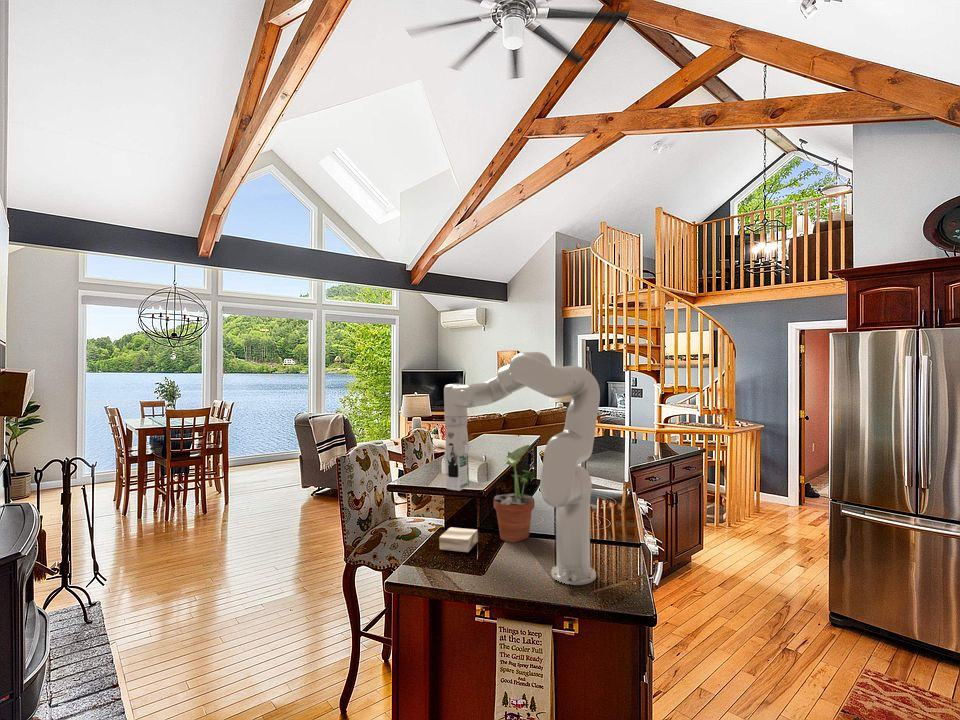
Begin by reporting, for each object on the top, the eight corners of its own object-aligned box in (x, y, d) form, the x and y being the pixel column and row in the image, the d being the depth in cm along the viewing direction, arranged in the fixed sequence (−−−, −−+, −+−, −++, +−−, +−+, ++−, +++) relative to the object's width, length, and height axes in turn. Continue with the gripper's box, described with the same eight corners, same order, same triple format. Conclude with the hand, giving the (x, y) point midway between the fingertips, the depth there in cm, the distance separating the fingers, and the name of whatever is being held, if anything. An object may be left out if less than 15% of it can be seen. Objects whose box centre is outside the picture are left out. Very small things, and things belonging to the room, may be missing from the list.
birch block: (468, 552, 168) (467, 540, 168) (439, 549, 172) (439, 537, 171) (477, 541, 178) (477, 529, 178) (450, 538, 181) (450, 527, 181)
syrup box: (459, 491, 170) (458, 446, 170) (445, 488, 174) (444, 445, 173) (469, 486, 175) (468, 443, 175) (455, 484, 178) (453, 442, 178)
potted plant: (545, 534, 182) (543, 435, 182) (518, 547, 171) (516, 441, 171) (511, 525, 193) (509, 431, 192) (483, 536, 182) (481, 437, 181)
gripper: (457, 425, 165) (458, 481, 165) (474, 417, 181) (476, 469, 181) (435, 424, 167) (436, 480, 167) (454, 417, 183) (455, 468, 184)
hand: (457, 473), depth 174 cm, fingers closed on syrup box, 6 cm apart
